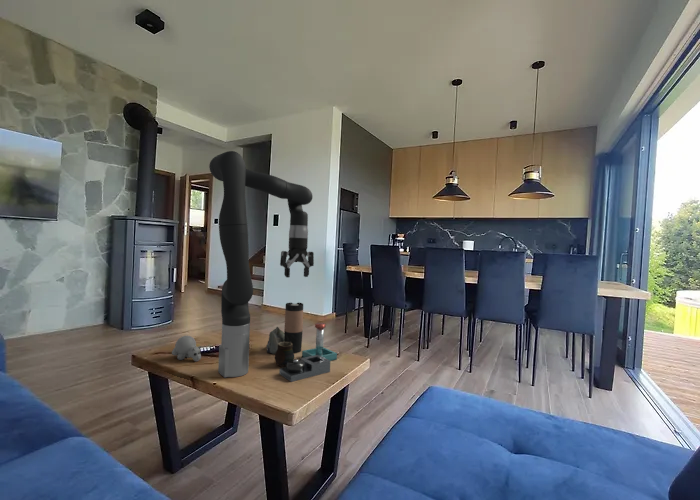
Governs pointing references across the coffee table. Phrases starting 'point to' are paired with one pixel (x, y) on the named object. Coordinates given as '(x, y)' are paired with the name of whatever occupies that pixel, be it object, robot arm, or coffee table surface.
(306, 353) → the tray
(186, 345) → the chubby cartoon animal
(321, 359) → the block
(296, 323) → the travel mug
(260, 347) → the coffee table surface
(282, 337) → the mineral rock
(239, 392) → the coffee table surface
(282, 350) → the mate gourd
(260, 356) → the coffee table surface
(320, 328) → the lock pin
